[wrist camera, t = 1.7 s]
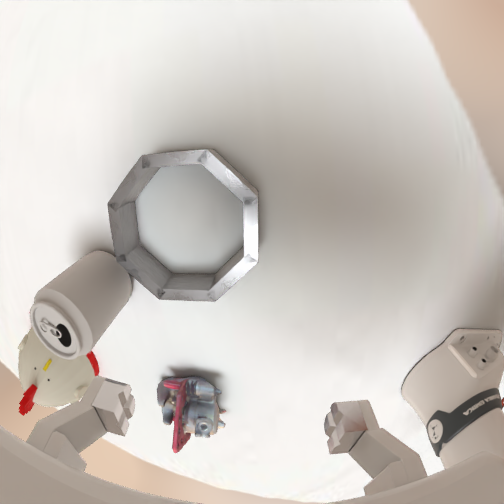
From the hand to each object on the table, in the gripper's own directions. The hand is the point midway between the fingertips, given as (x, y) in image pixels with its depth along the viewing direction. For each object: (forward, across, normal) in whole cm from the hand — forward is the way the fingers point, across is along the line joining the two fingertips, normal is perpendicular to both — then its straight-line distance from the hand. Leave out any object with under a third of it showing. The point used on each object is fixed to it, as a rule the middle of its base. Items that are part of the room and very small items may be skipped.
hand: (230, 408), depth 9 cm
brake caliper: (+20, +5, +24) cm, 31 cm away
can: (+20, +16, +6) cm, 26 cm away
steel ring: (+20, +6, -2) cm, 21 cm away
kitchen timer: (+21, +28, +22) cm, 41 cm away
